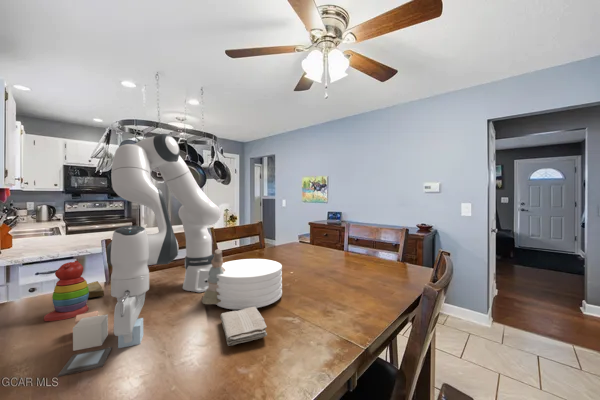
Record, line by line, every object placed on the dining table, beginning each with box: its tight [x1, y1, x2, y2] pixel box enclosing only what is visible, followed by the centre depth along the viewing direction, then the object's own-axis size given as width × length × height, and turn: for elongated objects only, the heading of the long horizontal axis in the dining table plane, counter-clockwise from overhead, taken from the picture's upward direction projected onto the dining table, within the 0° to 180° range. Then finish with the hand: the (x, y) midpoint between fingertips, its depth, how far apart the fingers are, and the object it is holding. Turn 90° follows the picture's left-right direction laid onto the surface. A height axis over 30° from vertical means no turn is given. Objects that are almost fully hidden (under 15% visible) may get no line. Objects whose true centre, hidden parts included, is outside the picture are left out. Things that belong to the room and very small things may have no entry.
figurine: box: [201, 248, 225, 305], centre depth 96 cm, size 9×8×20 cm
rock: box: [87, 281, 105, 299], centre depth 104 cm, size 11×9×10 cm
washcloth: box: [219, 307, 268, 347], centre depth 78 cm, size 12×18×3 cm, turn 24°
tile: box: [57, 346, 113, 377], centre depth 62 cm, size 8×8×1 cm
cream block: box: [72, 313, 109, 351], centre depth 70 cm, size 6×6×6 cm
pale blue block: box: [117, 317, 144, 349], centre depth 70 cm, size 5×5×5 cm
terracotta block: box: [74, 310, 99, 326], centre depth 75 cm, size 5×5×5 cm
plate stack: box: [215, 258, 283, 310], centre depth 105 cm, size 28×28×12 cm
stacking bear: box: [43, 260, 89, 322], centre depth 88 cm, size 11×10×18 cm
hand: (131, 335), depth 70 cm, fingers closed on pale blue block, 5 cm apart
